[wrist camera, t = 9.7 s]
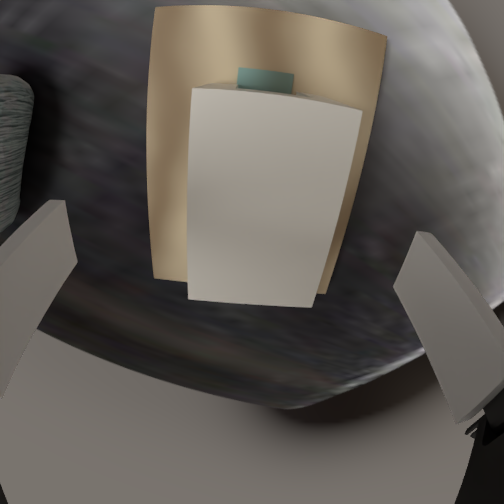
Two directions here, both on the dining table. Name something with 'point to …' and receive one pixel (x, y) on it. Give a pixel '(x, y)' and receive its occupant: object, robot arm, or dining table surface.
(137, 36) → the dining table surface
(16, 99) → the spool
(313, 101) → the white block
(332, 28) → the wooden peg board
